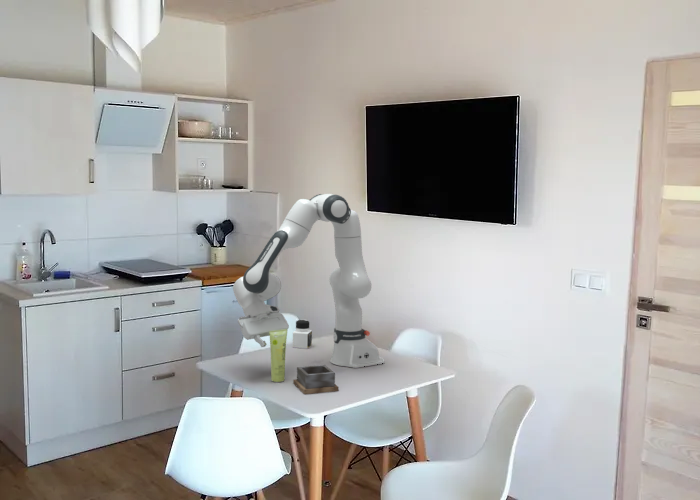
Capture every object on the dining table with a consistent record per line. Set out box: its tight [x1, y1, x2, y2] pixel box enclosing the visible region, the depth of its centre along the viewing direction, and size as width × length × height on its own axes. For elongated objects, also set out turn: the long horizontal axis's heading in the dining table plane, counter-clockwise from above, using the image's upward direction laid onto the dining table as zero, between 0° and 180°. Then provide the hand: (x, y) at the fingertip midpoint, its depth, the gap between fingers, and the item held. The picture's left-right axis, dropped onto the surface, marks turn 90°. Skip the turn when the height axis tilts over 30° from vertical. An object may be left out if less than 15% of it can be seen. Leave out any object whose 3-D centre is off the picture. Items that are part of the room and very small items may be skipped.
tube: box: [269, 329, 288, 383], centre depth 255 cm, size 6×5×20 cm
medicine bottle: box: [292, 319, 313, 350], centre depth 307 cm, size 7×7×12 cm
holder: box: [292, 364, 339, 395], centre depth 249 cm, size 13×13×6 cm
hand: (273, 344), depth 256 cm, fingers open, 8 cm apart
